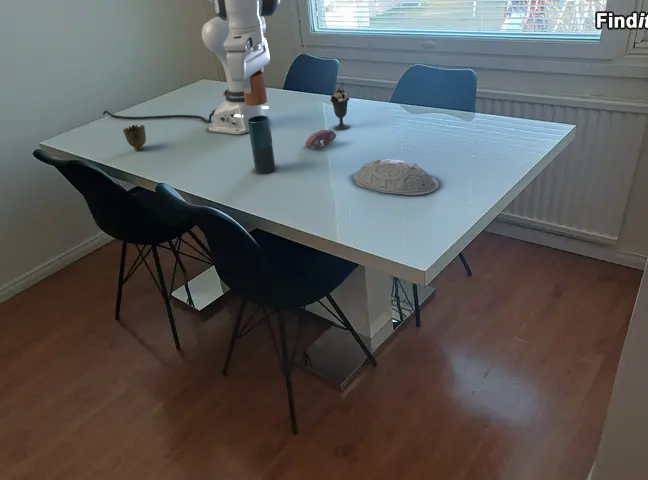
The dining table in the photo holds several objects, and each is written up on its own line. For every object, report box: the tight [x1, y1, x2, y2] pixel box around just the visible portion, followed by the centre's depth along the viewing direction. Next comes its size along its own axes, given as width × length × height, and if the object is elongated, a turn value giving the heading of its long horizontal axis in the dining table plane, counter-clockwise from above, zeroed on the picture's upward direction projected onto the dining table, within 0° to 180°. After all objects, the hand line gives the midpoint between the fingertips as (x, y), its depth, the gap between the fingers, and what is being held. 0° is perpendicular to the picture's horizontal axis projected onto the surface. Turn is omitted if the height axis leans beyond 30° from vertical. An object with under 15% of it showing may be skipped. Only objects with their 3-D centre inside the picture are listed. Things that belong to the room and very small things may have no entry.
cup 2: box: [122, 124, 147, 152], centre depth 194 cm, size 8×7×8 cm
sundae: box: [329, 82, 350, 131], centre depth 190 cm, size 7×7×15 cm
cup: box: [243, 71, 268, 106], centre depth 156 cm, size 6×6×8 cm
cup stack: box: [247, 115, 277, 175], centre depth 165 cm, size 6×6×16 cm
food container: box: [352, 158, 440, 196], centre depth 152 cm, size 16×25×7 cm, turn 52°
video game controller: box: [304, 128, 337, 149], centre depth 179 cm, size 10×5×7 cm, turn 118°
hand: (254, 88), depth 156 cm, fingers closed on cup, 6 cm apart
